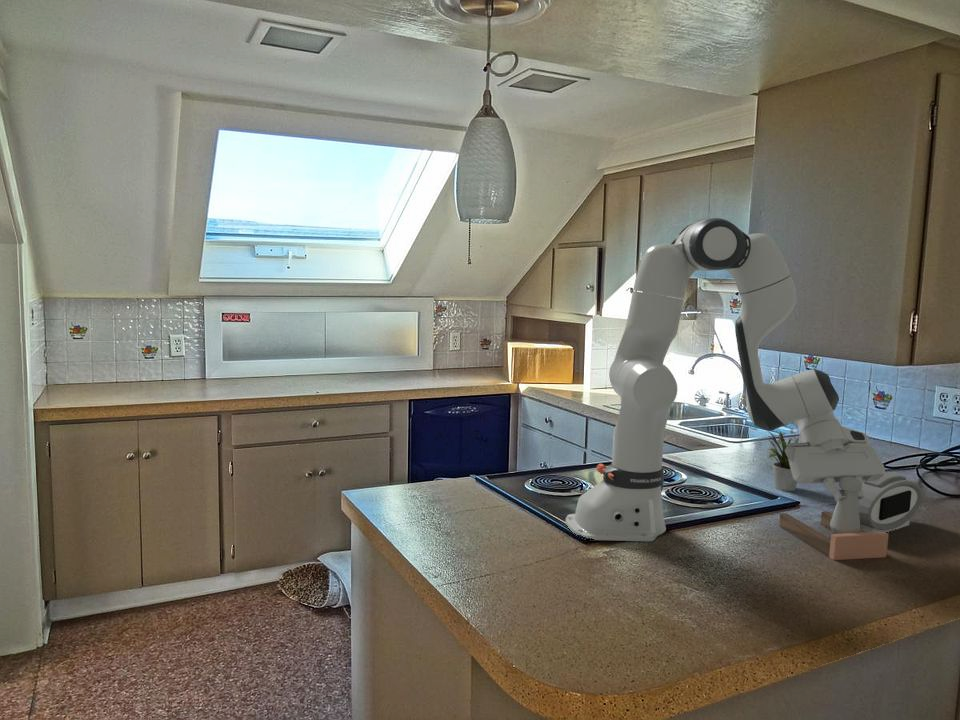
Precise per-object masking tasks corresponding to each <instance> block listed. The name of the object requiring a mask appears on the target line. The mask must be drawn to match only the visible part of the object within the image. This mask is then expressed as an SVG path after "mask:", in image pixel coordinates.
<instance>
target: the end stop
mask: <svg viewBox="0 0 960 720" xmlns="http://www.w3.org/2000/svg"><path fill="white" fill-rule="evenodd" d="M830 539H831V541H830V552H829V557H828V558H829V559H831V560H832V561H844V560H846V561H847V560H858V559H859V560H860V559H861V560H862V559H875V558H887V553H888V544H889V532H888V533H886V532H884V531H882V532H863V533H844V534H833V533H832V534H830Z"/></svg>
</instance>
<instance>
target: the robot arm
mask: <svg viewBox="0 0 960 720" xmlns="http://www.w3.org/2000/svg"><path fill="white" fill-rule="evenodd" d="M722 270H726V271H728V273H729V274H730V275H731V276H732V279H733V280H734V281H735V284H736V288H737V290H738V294H739V296H740V299H741V312H740V316H739V317H738V318H737V319H735V323H734V331H735V339H736V343H737V344H736V345H737V351H738V357H739V358H738V359H739V362H740V367H741V368H740V369H741V373H742V374H741V375H742V378H743V383H744V388H745V405H746V411H747V415H748V417H749V419H750V421H751V422H752V423H753V425H754V426H755V427H757V428H760V429H761V430H763V429H764V430H763V431H766V430H767V432H768V431H769V432H773V431H775V430H777V429H780V428H782V427H784V426H785V425H788V424H791V423H794V424H795V425H796V426H797V429H798V433H799V435H798V436H799V439H800V440H801V442H798V443H795V442H790V443H789V445H787V444H786V445H787V446H786V447H785V452H786V455H787V457H788V459H789V464H790V469H791V472H792V475H793V478H794V480H795V481H796V482H797V484H799V485H805V484H807V485H808V484H823V487H824V489H826V490H827V491H828V492H829V493H830V494H832V496H833V498H834V500H835V501H836V502H837V501H841V500H844V499H845V498H846V495H845V494H844V491H843V490H842V489H841V488H840V487H838V486H837V485H836V484H835V483H839V482H840V479H841V478H842V477H854V478H857V479H859V480H860V481H861V482H862V486H863V481H877V480H878V479H880V478H881V477H882V476H883V475H884V473H886V468H885V466H884V462H883V461H882V459H881V458H880V456H879V453H878V452H877V451H876V449H875V447H874V446H872V445H871V444H869V441H870V438H869V436H868V435H867V433H865V432H861V431H858V430H854V429H853V428H852V429H851V428H848V427H846V426H844V425H843V426H842V425H841V423H840V421H839V420H838V419H837V417H836V416H835V414H834V411H835V410H836V408H837V406H838V404H839V401H840V397H839V394H838V392H837V390H836V389H835V388H834V385H833V384H832V381H831V378H830V376H829V373H826V372H825V371H822V370H819V369H816V368H812V369H808V370H805V371H801V372H799V373H795V374H791V375H790V376H788V377H785V378H781V379H778V380H776V381H773V382H768V383H767V382H764V379H763V373H762V369H761V364H760V358H759V357H760V356H759V347H760V345H761V343H762V341H763V340H764V339H765V338H766V336H768V335H769V334H770V333H771V332H772V331H773V330H774V329H776V328H777V327H778V326H779V325H781V324H782V323H783V322H784V321H785V320H787V318H788V317H789V316H790V315H791V314H792V312H793V310H794V308H795V306H796V304H797V300H798V294H797V288H796V285H795V282H794V280H793V279H794V278H793V276H792V274H791V271H790V269H789V266H788V264H787V262H786V260H785V257H784V255H783V254H782V252H781V251H780V249H779V247H778V246H777V243H776V242H775V241H774V239H773V238H772V237H771V236H769V235H768V234H766V233H760V232H759V233H750V234H747V233H745V232H744V231H742V229H740V228H739V227H738V226H736V225H735V224H734V223H733V222H731V221H729V220H727V219H724V218H719V217H714V218H713V217H712V218H703V219H699V220H697V221H695V222H692V223H690V224H688V225H686V227H684V228H683V229H681V231H680V232H679V233H678V235H677V236H676V238H675V239H674V240H673V241H672V242H671V243H658V244H654V245H651V246H650V247H649V248H647V249H646V251H645V252H644V254H643V256H642V259H641V262H640V264H639V267H638V270H637V272H636V277H635V281H634V285H633V291H632V293H631V294H632V295H631V298H630V306H629V309H628V315H627V319H626V324H625V327H624V331H623V333H622V337H621V340H620V342H619V345H618V347H617V350H616V354H615V357H614V360H613V361H612V363H611V365H610V367H609V370H608V371H609V372H608V374H609V375H608V376H609V377H608V378H609V381H610V385H611V388H612V390H613V391H614V392H615V393H616V394H617V395H618V396H619V397H620V407H619V413H618V418H617V421H616V425H615V427H614V428H613V433H612V434H613V436H612V437H613V438H612V452H611V453H612V455H611V456H612V458H611V463H610V464H609V465H608V466H605V465H604V464H603V463H599V464H597V465H596V468H595V469H596V471H597V472H598V473H599V474H601V475H603V479H602V480H601V481H600V482H598V483H597V484H595V485H594V486H593V487H591V488H590V489H589V490H587V491H586V492H584V493H582V494H581V495H580V496H579V498H578V500H577V502H576V503H577V505H576V509H575V513H569V514H567V516H566V517H565V521H564V522H565V526H566V525H567V526H568V527H567V526H566V527H567V529H568V528H569V529H570V530H571V531H572V532H573V533H572V532H571V531H570V530H569V529H568V530H569V531H570V532H571V533H572V534H574V533H575V534H577V535H581V536H583V537H586V538H590V539H591V538H592V539H594V540H593V541H620V542H623V541H625V542H654V541H655V540H656V538H657V537H658V536H661V535H662V534H664V533H665V532H666V530H667V527H666V523H665V518H664V513H663V502H662V501H663V500H662V492H663V488H664V482H665V481H664V479H665V478H664V474H665V472H664V467H663V457H664V455H663V453H664V437H665V432H666V427H667V424H668V423H667V422H668V418H669V415H670V411H671V407H672V404H673V403H674V402H675V400H676V398H677V395H678V383H677V380H676V377H675V376H674V374H673V373H672V372H671V370H670V369H669V368H668V366H666V365H665V364H664V360H665V358H666V356H667V353H668V350H669V348H670V346H671V344H672V342H673V341H674V339H676V336H677V335H678V331H679V326H680V322H681V317H682V311H683V306H684V301H685V300H684V299H685V298H686V297H685V296H686V290H687V285H688V283H689V280H690V278H691V277H692V275H693V274H694V273H695V272H696V271H702V272H703V271H704V272H711V271H722ZM863 498H864V493H863V491H862V488H861V491H859V492H858V500H862V499H863ZM575 534H574V535H575ZM577 535H576V536H577Z"/></svg>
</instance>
